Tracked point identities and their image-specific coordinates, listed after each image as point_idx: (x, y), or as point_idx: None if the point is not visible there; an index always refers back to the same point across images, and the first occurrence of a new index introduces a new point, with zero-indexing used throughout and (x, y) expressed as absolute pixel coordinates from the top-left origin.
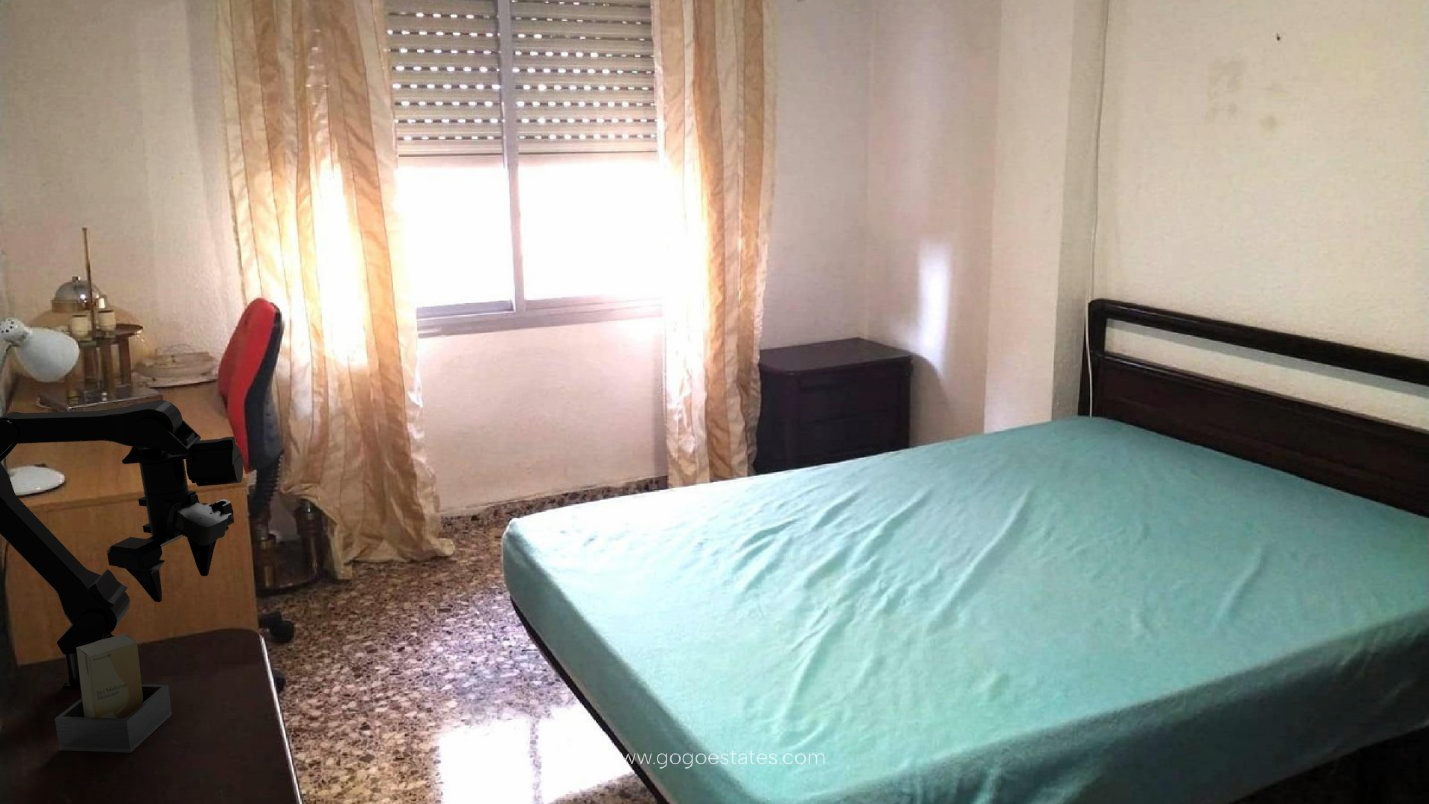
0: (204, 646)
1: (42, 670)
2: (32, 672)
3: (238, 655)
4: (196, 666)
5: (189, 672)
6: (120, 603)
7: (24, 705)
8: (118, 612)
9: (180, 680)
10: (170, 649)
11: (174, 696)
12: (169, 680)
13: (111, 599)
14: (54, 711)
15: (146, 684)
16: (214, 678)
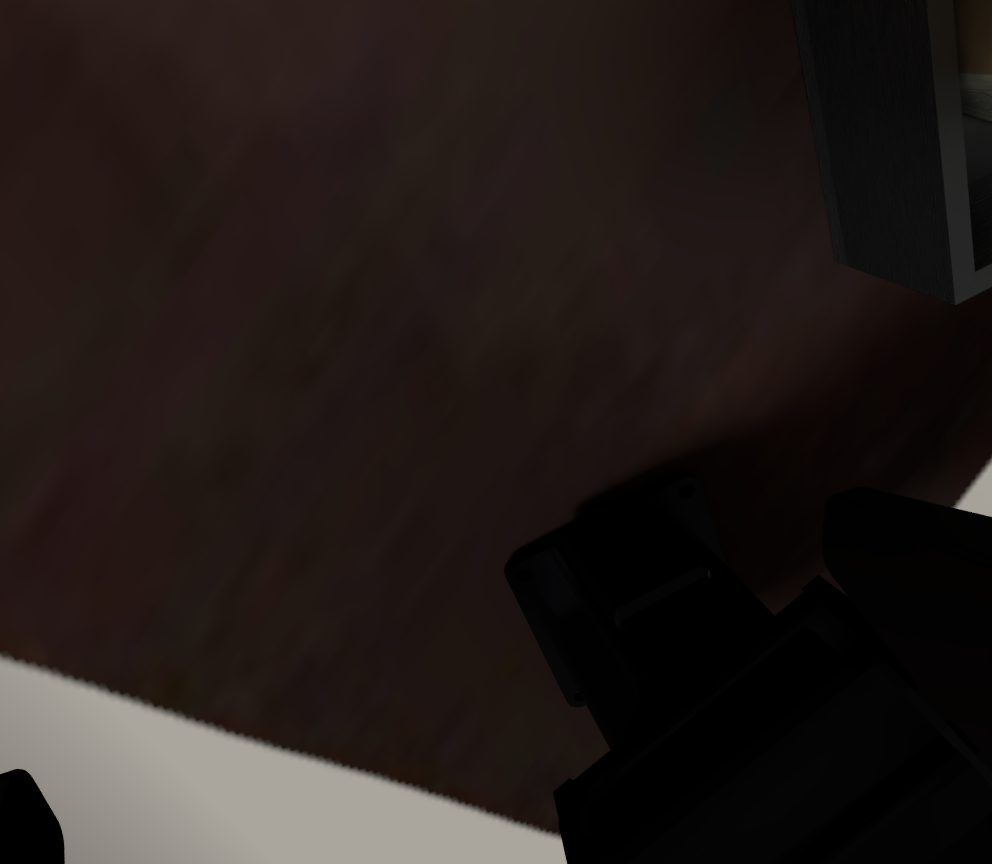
0: (100, 512)
1: None
2: None
3: (27, 211)
4: (297, 316)
5: (370, 282)
6: (771, 823)
7: None
8: (829, 724)
9: (461, 238)
10: (245, 618)
11: (608, 88)
12: (488, 294)
13: (948, 830)
14: (869, 458)
15: (931, 20)
16: (343, 60)
